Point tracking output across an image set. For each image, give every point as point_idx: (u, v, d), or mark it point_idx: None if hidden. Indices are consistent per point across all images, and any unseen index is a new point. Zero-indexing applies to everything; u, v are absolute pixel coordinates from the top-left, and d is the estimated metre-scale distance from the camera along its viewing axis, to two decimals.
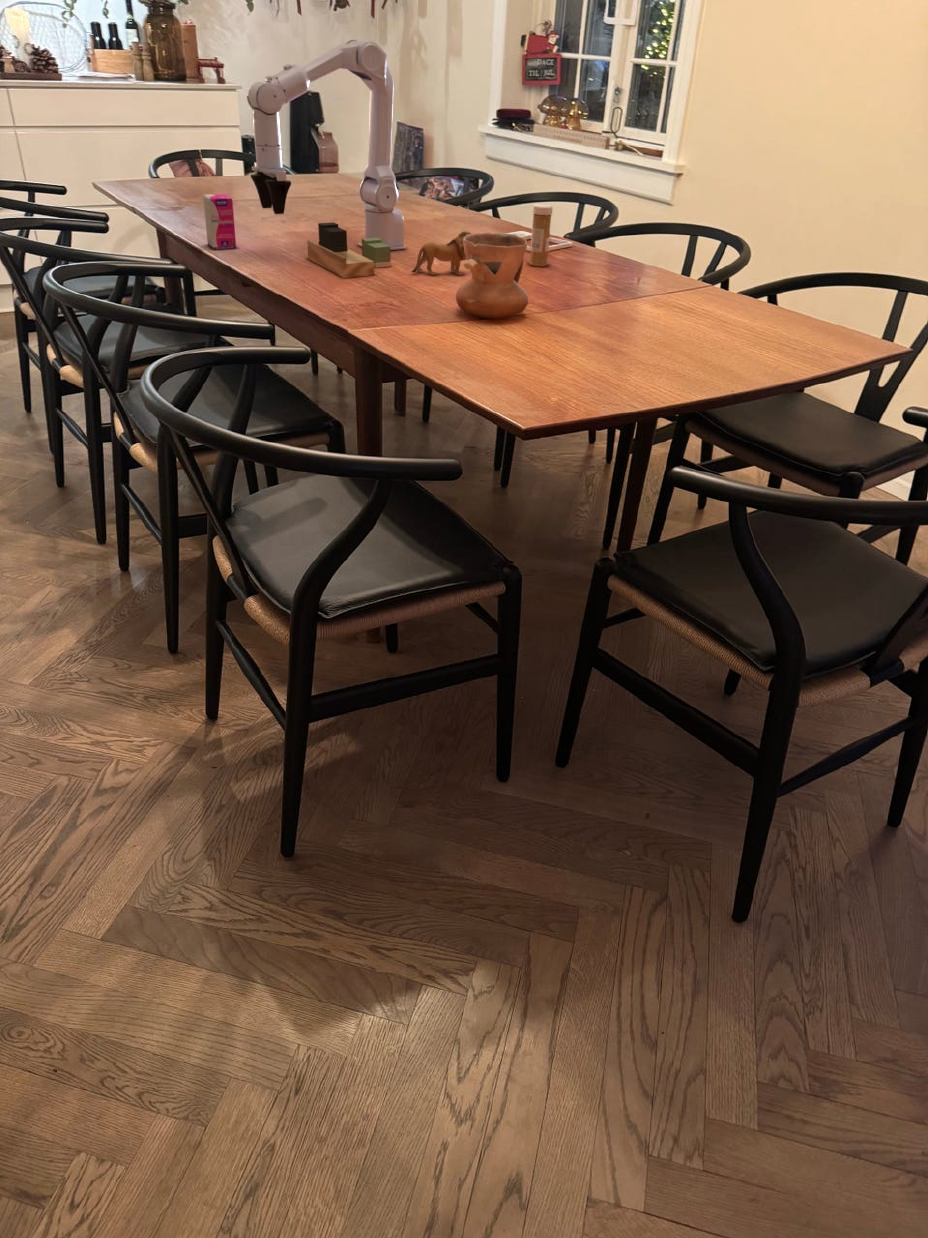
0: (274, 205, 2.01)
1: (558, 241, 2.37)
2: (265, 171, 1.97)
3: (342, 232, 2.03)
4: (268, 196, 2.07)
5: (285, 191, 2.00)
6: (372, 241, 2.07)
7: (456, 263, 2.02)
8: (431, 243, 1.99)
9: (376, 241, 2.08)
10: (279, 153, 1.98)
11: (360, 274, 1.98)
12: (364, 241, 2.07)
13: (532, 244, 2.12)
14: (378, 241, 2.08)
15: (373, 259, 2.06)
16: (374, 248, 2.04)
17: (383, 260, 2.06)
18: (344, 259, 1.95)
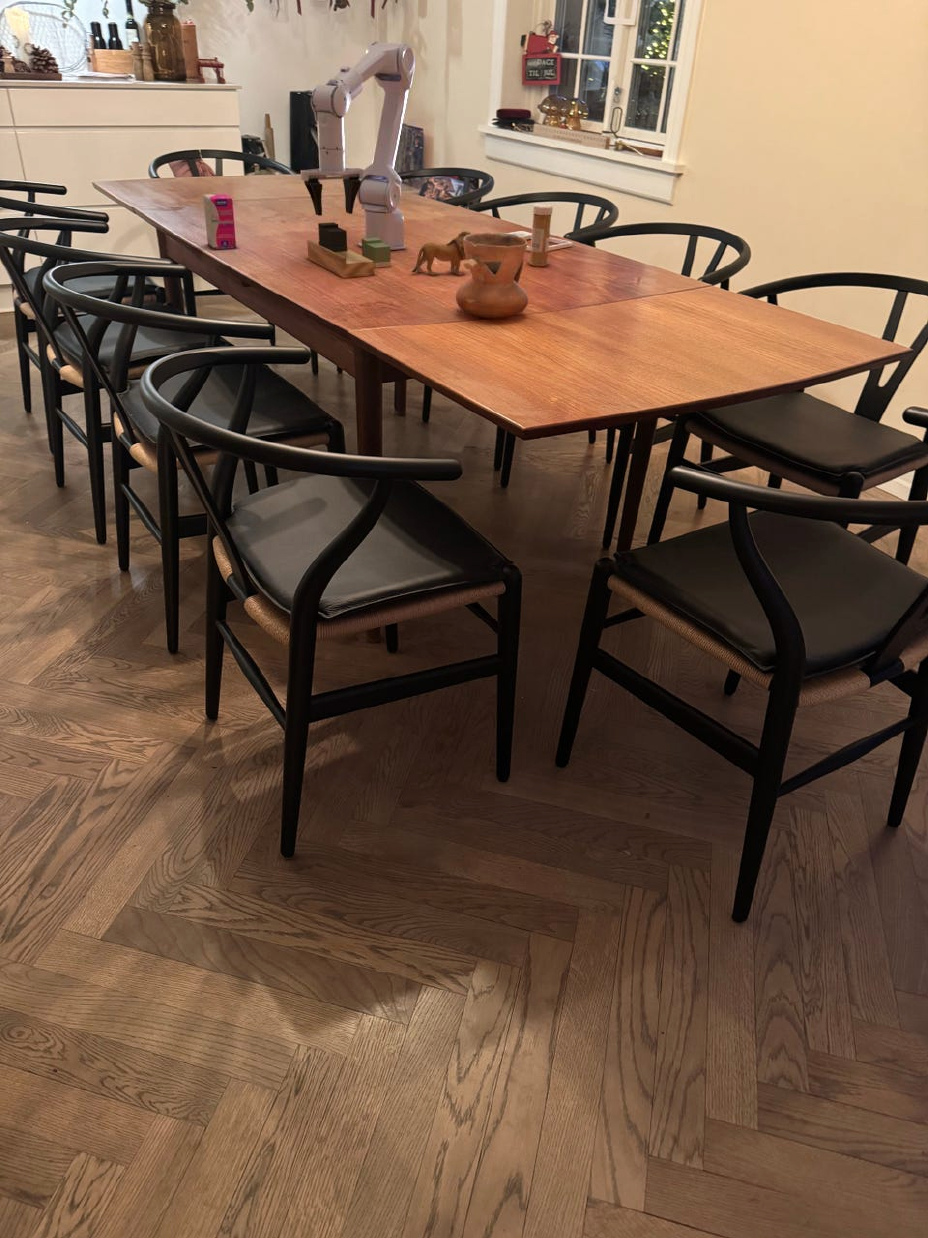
0: None
1: (558, 241, 2.37)
2: (348, 172, 1.99)
3: (342, 232, 2.03)
4: None
5: None
6: (372, 241, 2.07)
7: (456, 263, 2.02)
8: (431, 243, 1.99)
9: (376, 241, 2.08)
10: None
11: (360, 274, 1.98)
12: (364, 241, 2.07)
13: (532, 244, 2.12)
14: (378, 241, 2.08)
15: (373, 259, 2.06)
16: (374, 248, 2.04)
17: (383, 260, 2.06)
18: (344, 259, 1.95)
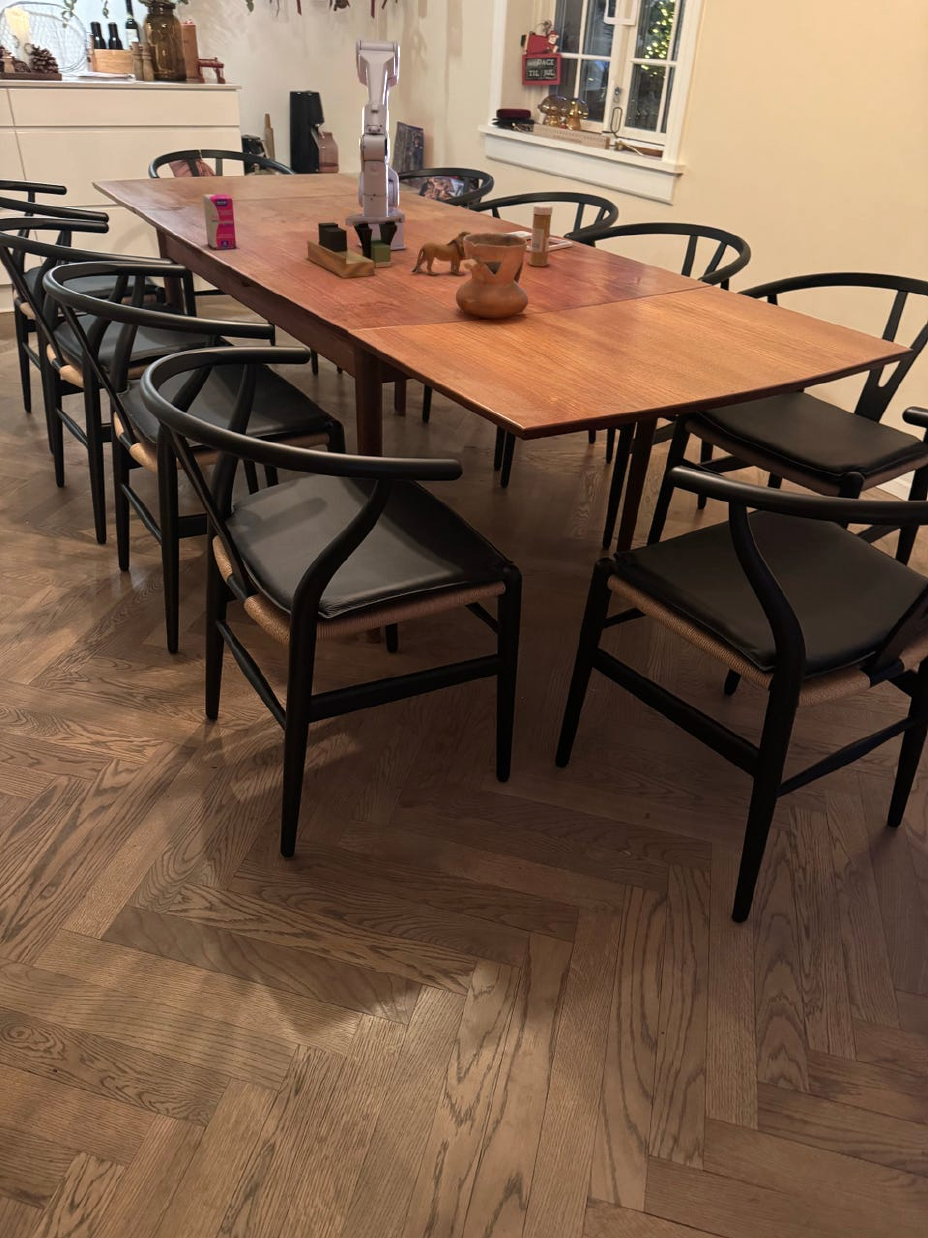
0: None
1: (558, 241, 2.37)
2: (391, 218, 2.03)
3: (342, 232, 2.03)
4: None
5: None
6: (372, 241, 2.07)
7: (456, 263, 2.02)
8: (431, 243, 1.99)
9: (376, 241, 2.08)
10: None
11: (360, 274, 1.98)
12: None
13: (532, 244, 2.12)
14: (378, 241, 2.08)
15: (373, 259, 2.06)
16: (374, 248, 2.04)
17: (383, 260, 2.06)
18: (344, 259, 1.95)
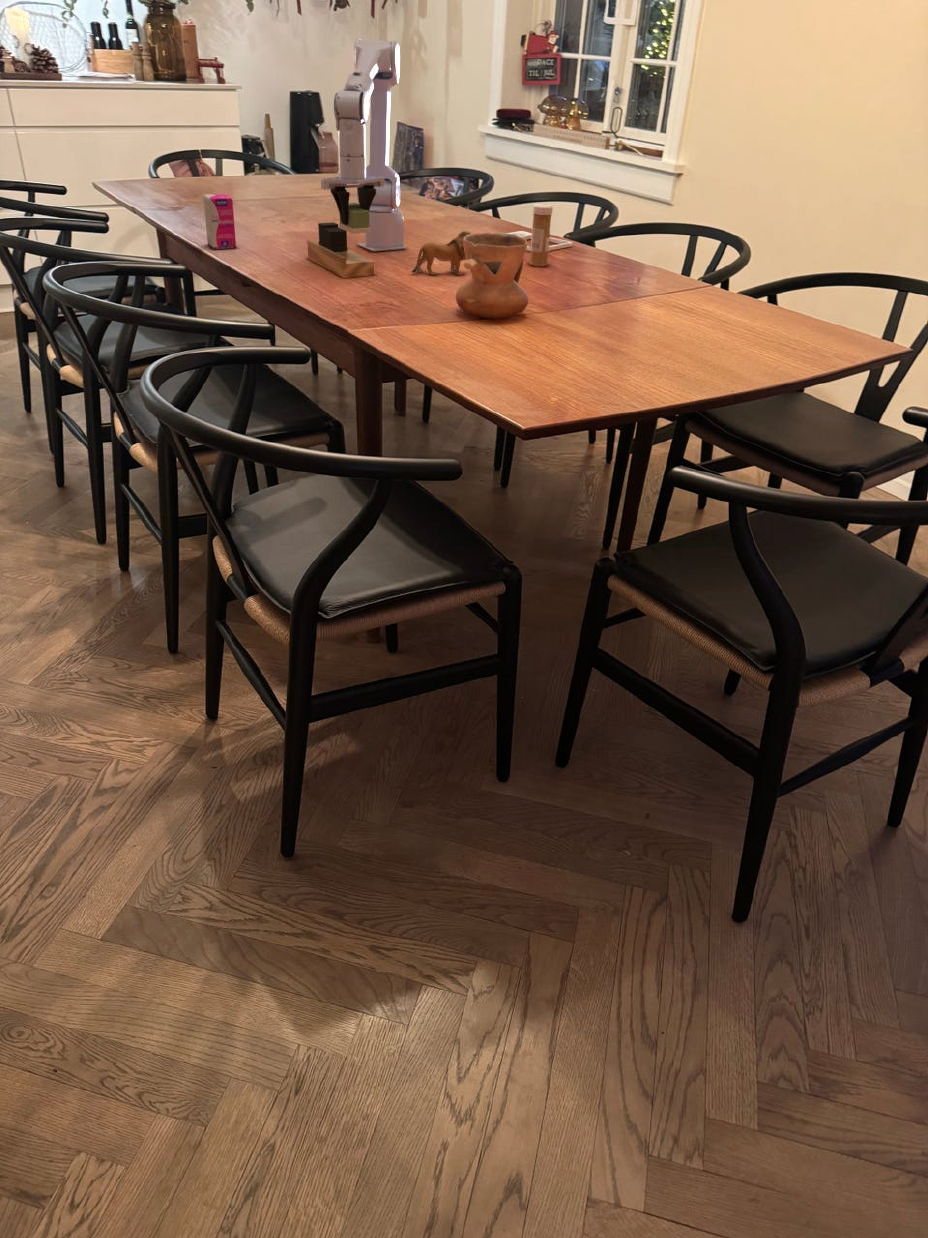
0: None
1: (558, 241, 2.37)
2: (369, 181, 1.93)
3: (342, 232, 2.03)
4: None
5: None
6: (350, 206, 1.96)
7: (456, 263, 2.02)
8: (431, 243, 1.99)
9: (354, 206, 1.97)
10: None
11: (360, 274, 1.98)
12: None
13: (532, 244, 2.12)
14: (356, 206, 1.97)
15: (351, 225, 1.95)
16: (352, 213, 1.93)
17: (361, 226, 1.95)
18: (344, 259, 1.95)
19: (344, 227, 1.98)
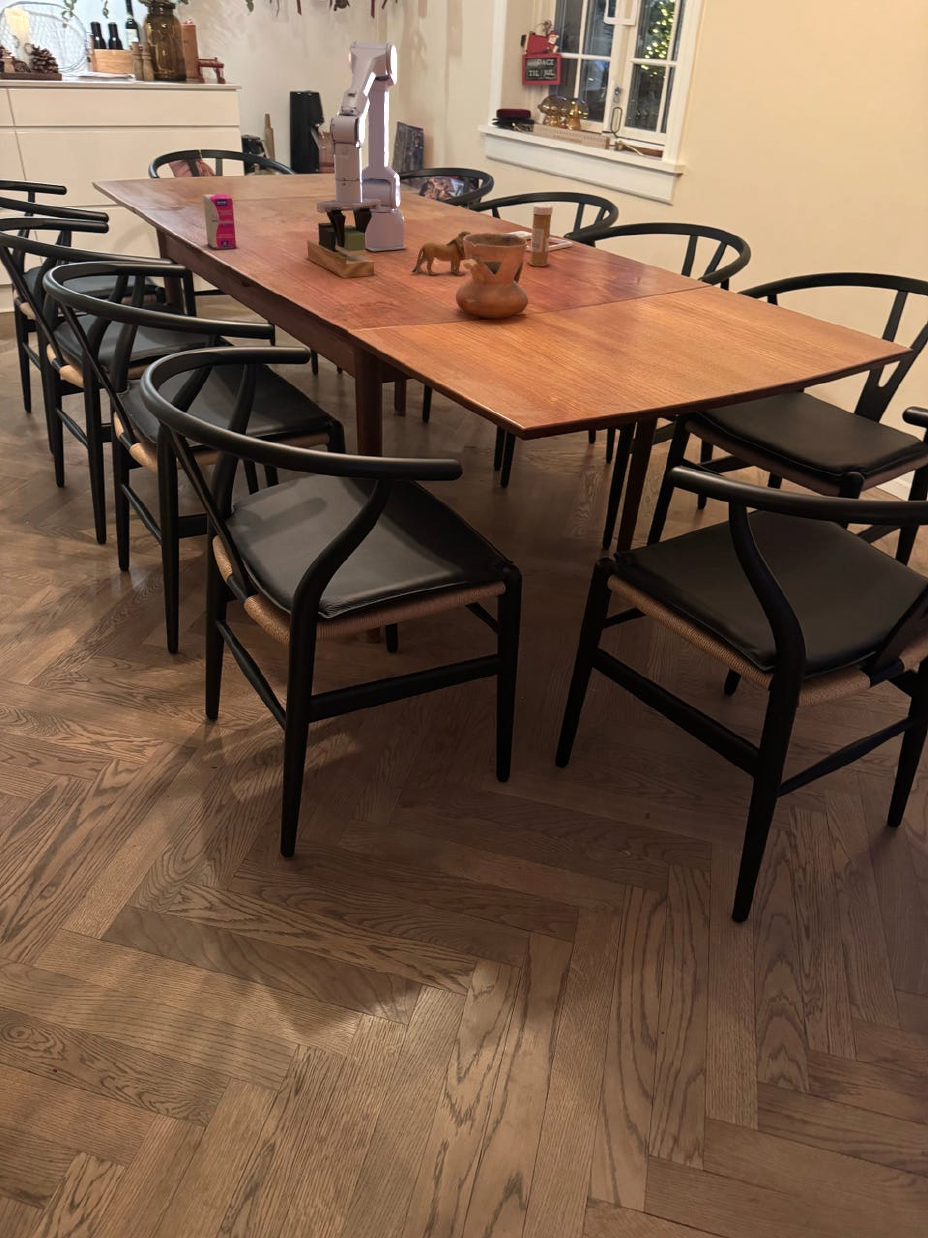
0: None
1: (558, 241, 2.37)
2: (365, 204, 1.94)
3: None
4: None
5: None
6: (346, 228, 1.98)
7: (456, 263, 2.02)
8: (431, 243, 1.99)
9: (350, 229, 1.98)
10: None
11: (360, 274, 1.98)
12: None
13: (532, 244, 2.12)
14: (352, 229, 1.99)
15: (347, 247, 1.96)
16: (348, 236, 1.95)
17: (357, 248, 1.97)
18: (344, 259, 1.95)
19: (340, 249, 2.00)
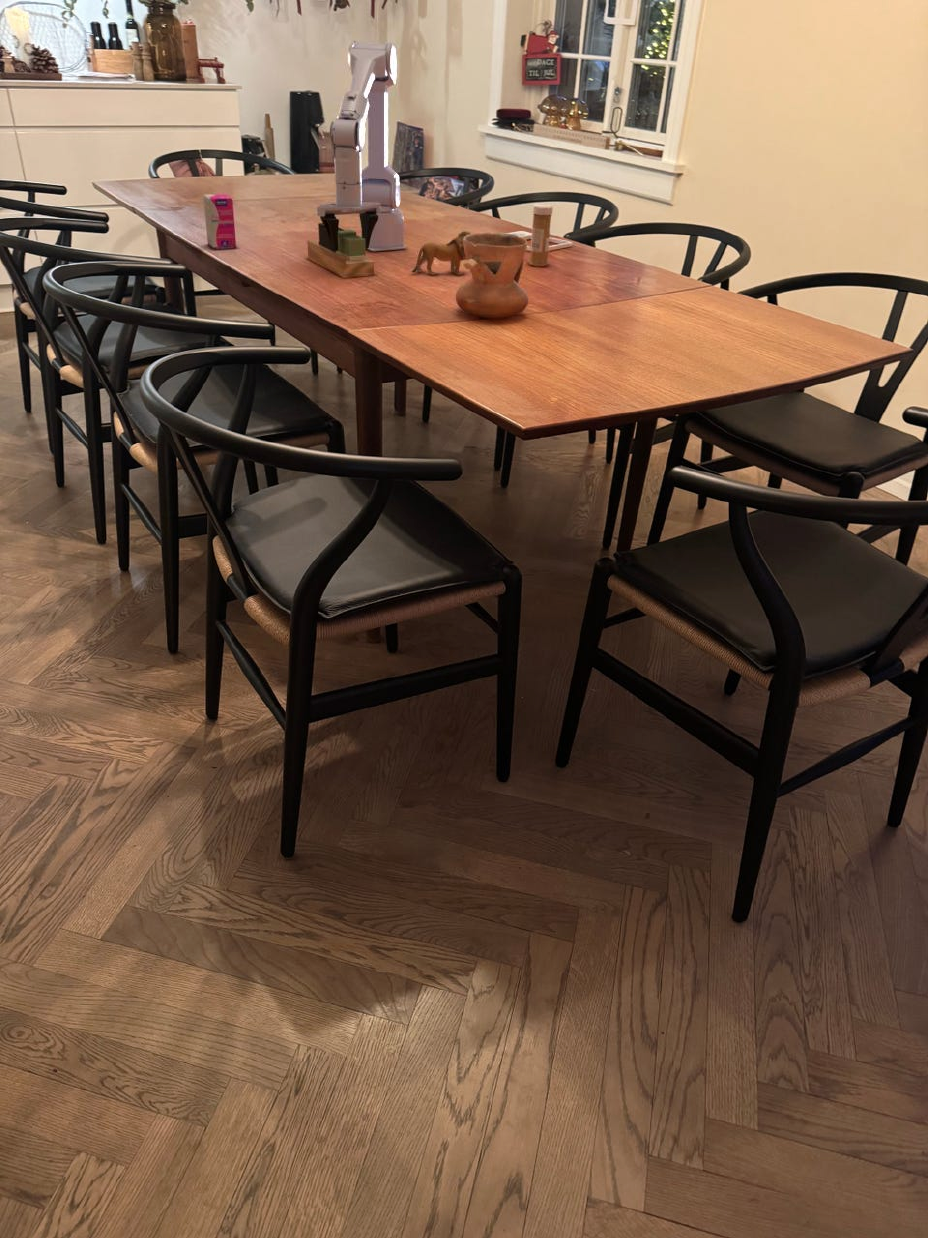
0: None
1: (558, 241, 2.37)
2: (365, 207, 1.95)
3: None
4: None
5: None
6: (346, 234, 1.98)
7: (456, 263, 2.02)
8: (431, 243, 1.99)
9: (350, 234, 1.99)
10: None
11: (360, 274, 1.98)
12: None
13: (532, 244, 2.12)
14: (353, 234, 1.99)
15: (347, 252, 1.97)
16: (348, 241, 1.95)
17: (358, 253, 1.97)
18: (344, 259, 1.95)
19: (340, 254, 2.00)
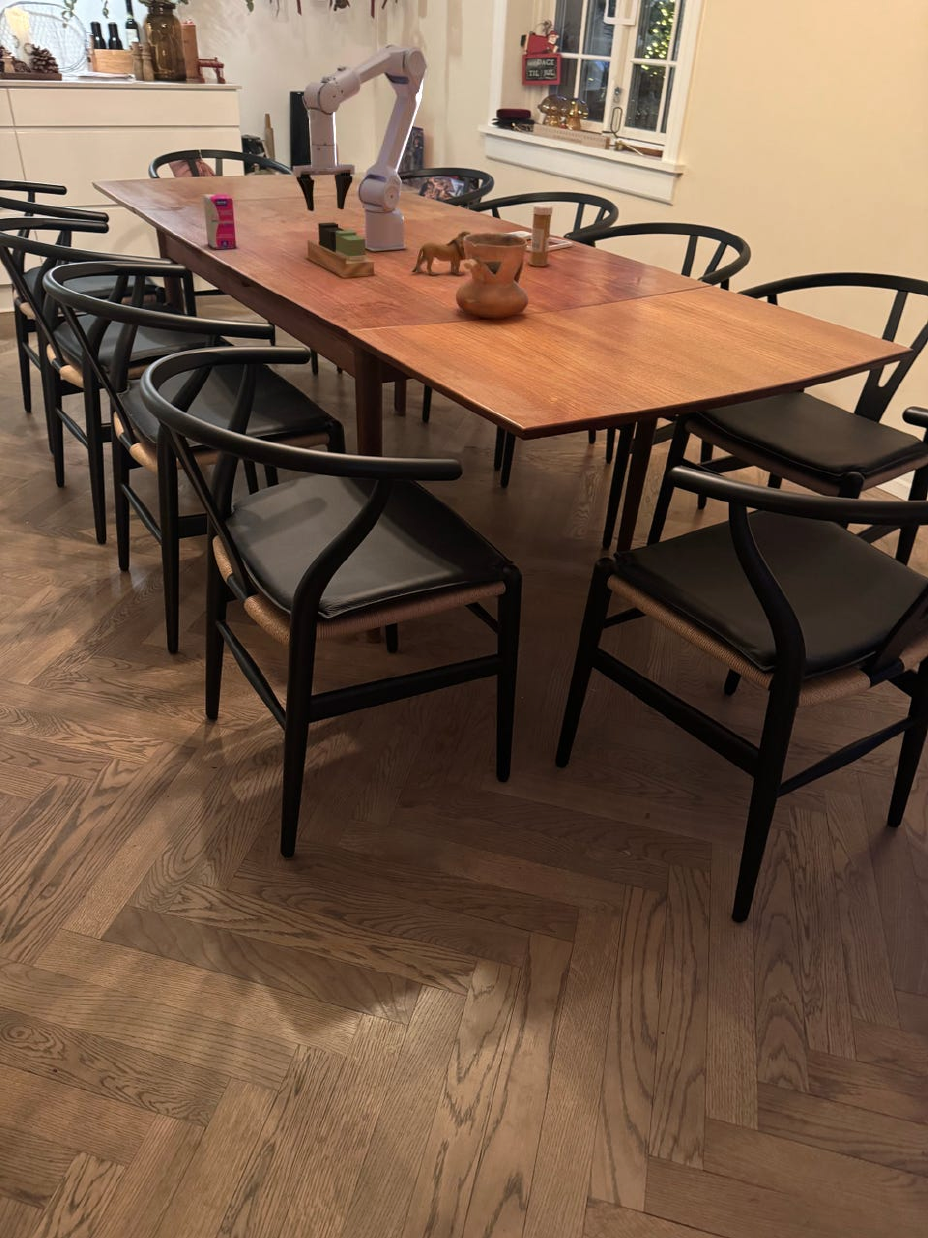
0: None
1: (558, 241, 2.37)
2: (339, 168, 2.03)
3: None
4: None
5: None
6: (346, 234, 1.98)
7: (456, 263, 2.02)
8: (431, 243, 1.99)
9: (350, 234, 1.99)
10: None
11: (360, 274, 1.98)
12: (337, 233, 1.99)
13: (532, 244, 2.12)
14: (353, 234, 1.99)
15: (347, 252, 1.97)
16: (348, 241, 1.95)
17: (358, 253, 1.97)
18: (344, 259, 1.95)
19: (340, 254, 2.00)
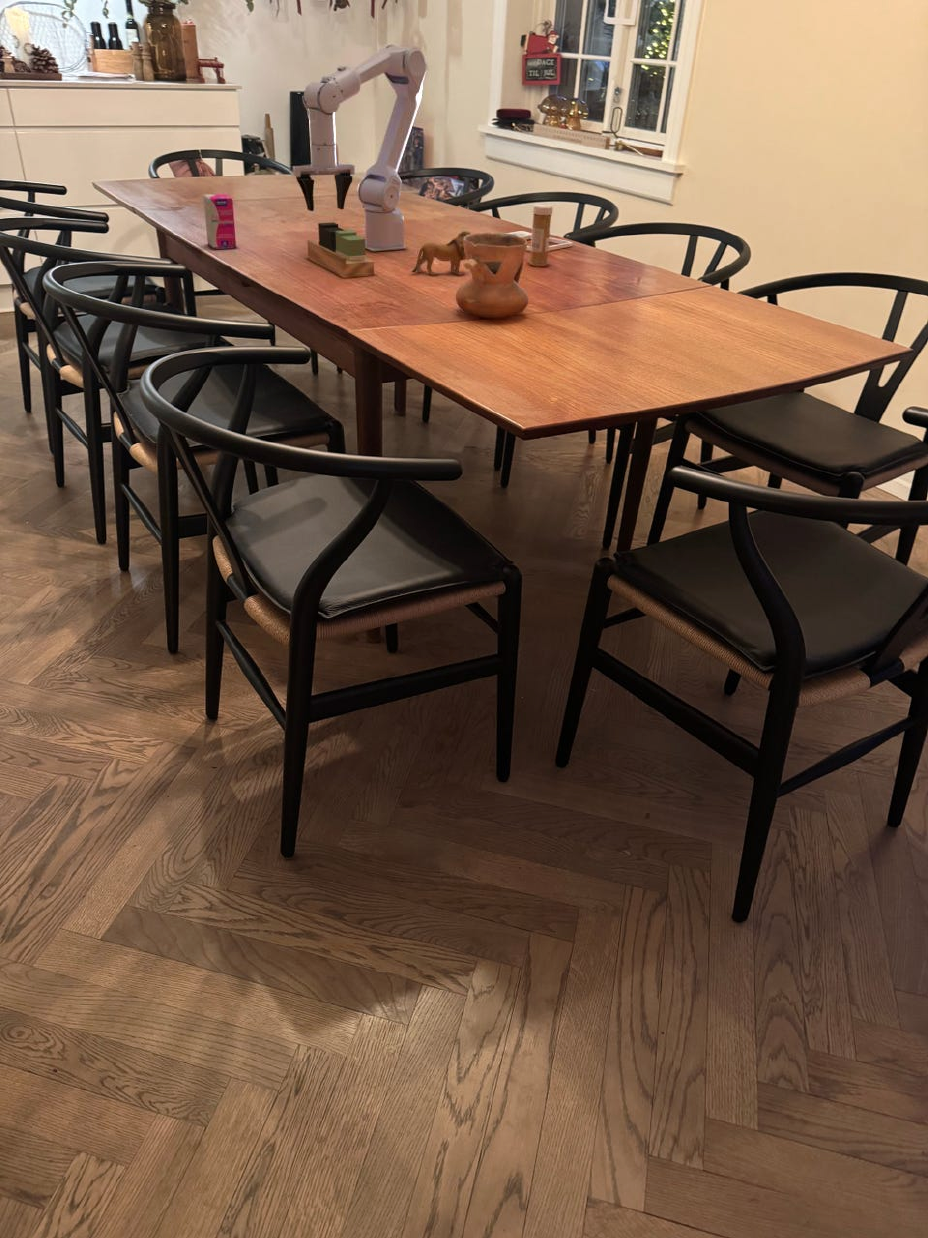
0: None
1: (558, 241, 2.37)
2: (339, 168, 2.03)
3: None
4: None
5: None
6: (346, 234, 1.98)
7: (456, 263, 2.02)
8: (431, 243, 1.99)
9: (350, 234, 1.99)
10: None
11: (360, 274, 1.98)
12: (337, 233, 1.99)
13: (532, 244, 2.12)
14: (353, 234, 1.99)
15: (347, 252, 1.97)
16: (348, 241, 1.95)
17: (358, 253, 1.97)
18: (344, 259, 1.95)
19: (340, 254, 2.00)
